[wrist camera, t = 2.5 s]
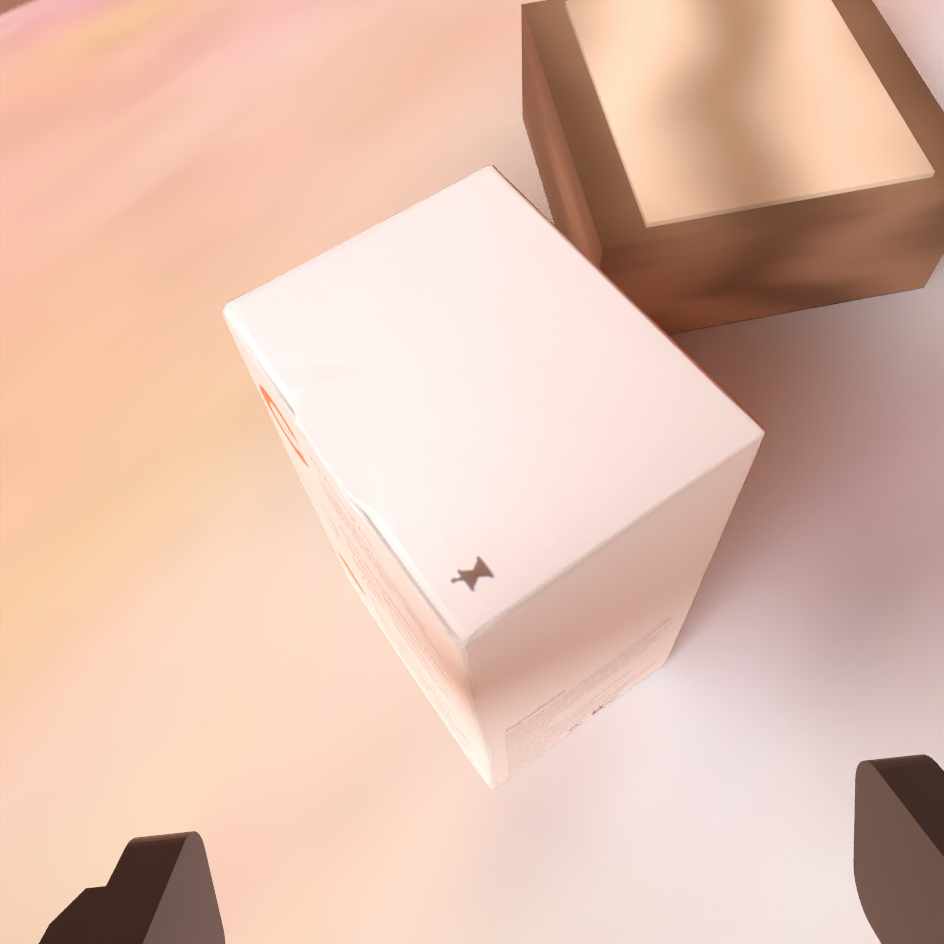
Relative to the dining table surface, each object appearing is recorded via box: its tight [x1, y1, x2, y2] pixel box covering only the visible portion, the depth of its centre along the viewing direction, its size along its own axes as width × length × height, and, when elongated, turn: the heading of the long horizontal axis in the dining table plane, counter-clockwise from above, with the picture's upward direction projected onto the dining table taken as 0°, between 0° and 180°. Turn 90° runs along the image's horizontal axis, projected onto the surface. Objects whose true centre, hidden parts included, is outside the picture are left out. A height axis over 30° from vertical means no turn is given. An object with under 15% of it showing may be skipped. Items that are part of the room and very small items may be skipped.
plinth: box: [522, 0, 944, 334], centre depth 32 cm, size 12×12×5 cm
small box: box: [223, 165, 765, 789], centre depth 21 cm, size 8×6×13 cm
